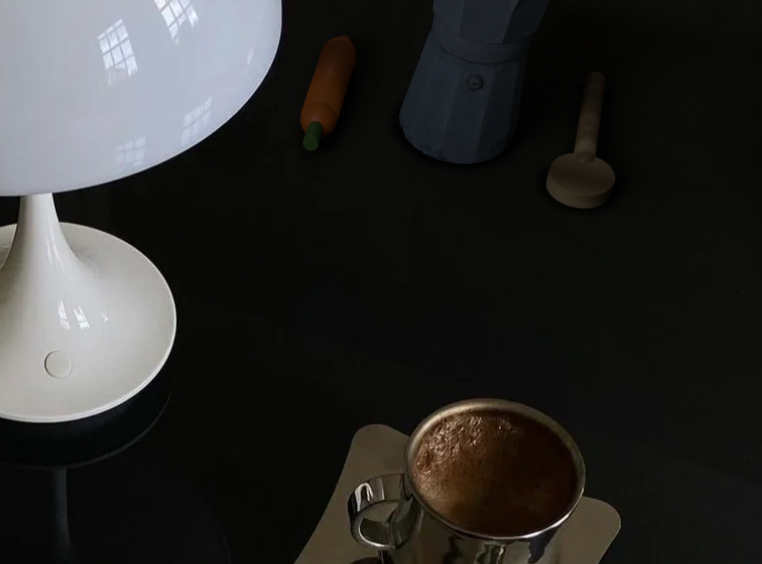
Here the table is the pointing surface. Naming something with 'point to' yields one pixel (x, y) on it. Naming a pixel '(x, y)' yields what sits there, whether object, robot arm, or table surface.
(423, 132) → the moka pot
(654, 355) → the table surface
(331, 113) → the carrot
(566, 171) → the spoon
